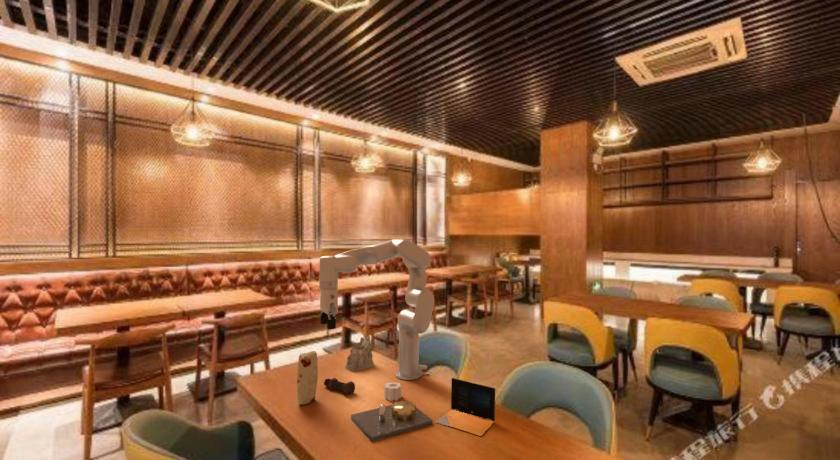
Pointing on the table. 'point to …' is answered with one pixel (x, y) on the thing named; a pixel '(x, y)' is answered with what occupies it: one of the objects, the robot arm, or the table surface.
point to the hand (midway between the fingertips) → (327, 326)
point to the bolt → (340, 386)
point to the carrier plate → (387, 422)
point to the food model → (307, 377)
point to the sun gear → (403, 410)
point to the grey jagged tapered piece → (360, 355)
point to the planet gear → (392, 391)
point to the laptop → (471, 400)
